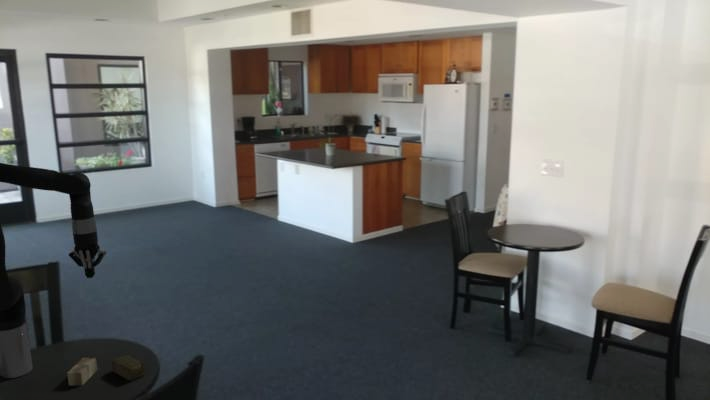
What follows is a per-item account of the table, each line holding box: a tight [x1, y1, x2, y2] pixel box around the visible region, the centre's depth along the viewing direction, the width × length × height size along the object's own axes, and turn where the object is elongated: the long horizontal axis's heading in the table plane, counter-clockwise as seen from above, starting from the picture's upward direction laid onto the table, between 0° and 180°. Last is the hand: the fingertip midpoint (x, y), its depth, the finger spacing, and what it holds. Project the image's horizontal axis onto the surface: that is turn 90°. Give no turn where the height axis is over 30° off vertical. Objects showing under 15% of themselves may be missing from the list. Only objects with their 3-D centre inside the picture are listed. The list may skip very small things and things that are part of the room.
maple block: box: [66, 357, 98, 386], centre depth 186 cm, size 4×4×10 cm
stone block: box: [111, 354, 145, 381], centre depth 187 cm, size 6×12×5 cm, turn 53°
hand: (90, 277), depth 197 cm, fingers closed
